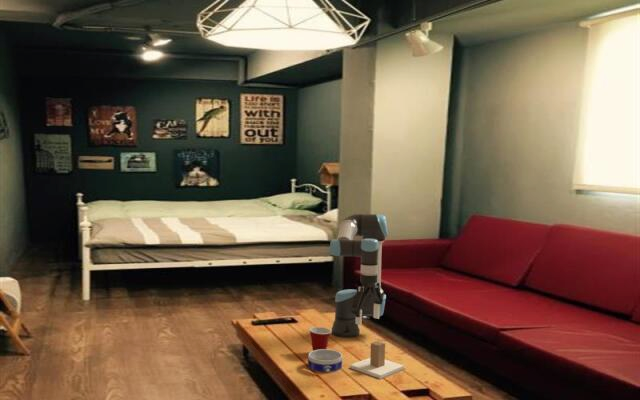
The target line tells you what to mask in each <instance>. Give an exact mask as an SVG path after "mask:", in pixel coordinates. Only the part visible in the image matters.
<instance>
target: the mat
mask: <svg viewBox="0 0 640 400" xmlns="http://www.w3.org/2000/svg"><path fill="white" fill-rule="evenodd" d="M349 369H350V370H353V371H355V372H358V373H361V374H365V375H367V376H370V377H372V378H375V379H378V380H383V379H385V378H387V377H390V376H392V375H394V374H397V373H400V372H402V371H404V370H406V368H404V369H403V370H400V371H398V372H395V373H393V374H391V375H388V376H386V377H384V378H381V379H380V378H377V377H374V376H371V375H368V374H366V373H363V372H360V371H357V370H354V369H352V368H350V367H349Z"/></svg>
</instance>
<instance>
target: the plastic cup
mask: <svg viewBox="0 0 640 400" xmlns="http://www.w3.org/2000/svg"><path fill="white" fill-rule="evenodd" d="M308 330H309V333H310V340H311V348H312V351H314V350H320V349H328V348H327V347H328V342H329V338H330V334H332V333H331V332H332V331H331V330H332V329H329V328H327V327H321V326H313V327H310V328H309V329H308Z"/></svg>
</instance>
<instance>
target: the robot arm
mask: <svg viewBox="0 0 640 400" xmlns="http://www.w3.org/2000/svg"><path fill="white" fill-rule="evenodd" d="M355 237H362V239H361V240H360V239H359V240H357V239H354V238H355ZM386 238H388V224H387V217H386V216H385V215H384V214H376V213H375V214H373V213H372V214H371V213H368V214H367V213H366V214H364V213H363V214H362V213H355V214H351V215H348V216H346V217H345V218H343V219H342V220H341V221H340V223H339V225H338V235H337V238H334V239H333V238H332V239H331V240H330V246H329V252H330V255H331V256H336V257H357V258H358V257H359V258H360V276H359V279H360V280H359V281H360V283H361V286H357V288H356V289H352V288H351V289H350V288H349V289H343V290H339V291H337V292H336V294H335V299H334V302H335V305H334V306H335V307H334V309H335V311H334V321H333V324H332V326H331V329H330V330H331V331H332V332H331V333H330V334H331V335H333V336H334V337H338V338H347V339H349V338H356V337H358V336H360V334H361V333H360V331H361V330H360V327H359V325H362V321H363V320H362V319H363V318H362V316H363V317H364V316H365V317H366V316H367V317H372V318H373V319H378V320H379V319H380V317H381V316H383V315H384V311H385V305H386V299H387V295H386V294H385V293H384V290H383V289H382V287H381V286H382V284H381V283H382V278H381V277H382V252H383V251H382V249H383V243H384V242H385V241H386Z"/></svg>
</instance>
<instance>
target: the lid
mask: <svg viewBox="0 0 640 400" xmlns="http://www.w3.org/2000/svg"><path fill="white" fill-rule="evenodd" d="M385 350H386V343H385V342H382V341H378V340H376V341H374V342H370V357H368V358H365V359H363V360H360V361H357V362H355V363H352V364H350V365H349V366H350V367H349V369H350V368H352V369H351V370H353V369H354V370H353V371H355V370H357V371H356V372H358V371H360V372H359V373H361V372H363V373H362V374H364V373H366V374H368V375H367V376H369V375H371V376H370V377H372V376H374V377H373V378H375V377H377V378H376V379H378V378H380V379H381V378H383V379H385V378H384V377H386V376H388V375H390V376H392V375H391V374H393V373H395V372H397V373H399V372H398V371H400V370H402V371H404V370H403V369H405V365H404V364H402V363H401V364H400V363H398V362H394V361H393V360H388V359H386V351H385ZM400 372H401V371H400ZM366 374H365V375H366ZM395 374H396V373H395ZM393 375H394V374H393ZM388 377H389V376H388ZM386 378H387V377H386ZM380 379H379V380H380ZM381 380H382V379H381Z"/></svg>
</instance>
